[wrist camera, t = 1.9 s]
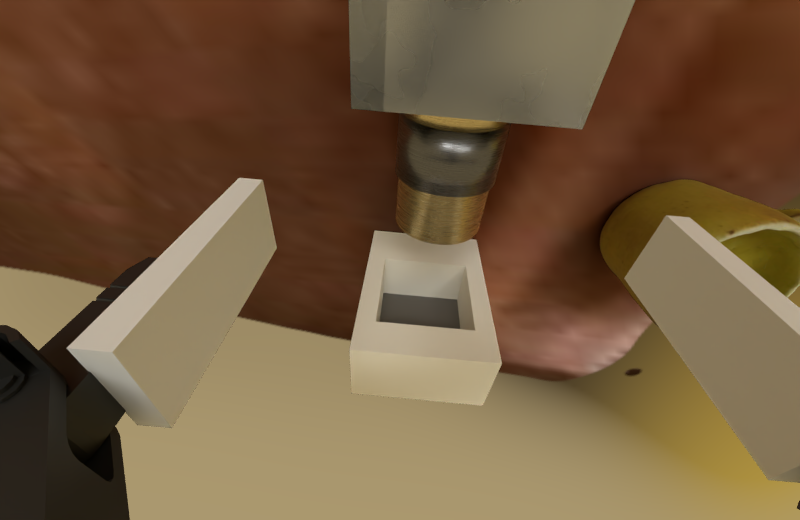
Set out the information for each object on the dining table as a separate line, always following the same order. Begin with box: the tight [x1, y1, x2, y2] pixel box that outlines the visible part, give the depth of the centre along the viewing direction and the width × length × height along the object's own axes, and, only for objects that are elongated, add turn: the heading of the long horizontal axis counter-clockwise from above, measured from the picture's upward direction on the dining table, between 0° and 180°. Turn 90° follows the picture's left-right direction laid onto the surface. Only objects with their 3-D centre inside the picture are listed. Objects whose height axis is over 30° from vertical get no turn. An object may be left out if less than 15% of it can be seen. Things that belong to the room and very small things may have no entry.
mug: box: [600, 179, 800, 327], centre depth 24 cm, size 12×10×10 cm
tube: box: [395, 113, 511, 245], centre depth 14 cm, size 17×5×5 cm, turn 176°
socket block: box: [349, 231, 502, 406], centre depth 26 cm, size 5×9×12 cm, turn 86°
